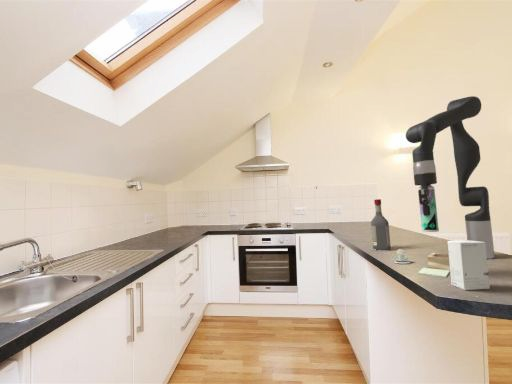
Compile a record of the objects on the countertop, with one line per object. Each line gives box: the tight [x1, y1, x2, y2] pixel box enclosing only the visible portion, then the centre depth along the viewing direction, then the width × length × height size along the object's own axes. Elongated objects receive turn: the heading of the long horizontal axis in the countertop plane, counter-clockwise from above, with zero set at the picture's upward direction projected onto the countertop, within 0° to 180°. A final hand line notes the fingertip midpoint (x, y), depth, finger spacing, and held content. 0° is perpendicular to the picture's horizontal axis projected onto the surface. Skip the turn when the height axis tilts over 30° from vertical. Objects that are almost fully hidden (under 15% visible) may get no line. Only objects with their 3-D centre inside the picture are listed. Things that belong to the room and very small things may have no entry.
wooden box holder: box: [426, 252, 450, 271], centre depth 106 cm, size 10×10×5 cm
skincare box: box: [446, 240, 491, 291], centre depth 83 cm, size 8×6×15 cm
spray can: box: [417, 184, 440, 233], centre depth 101 cm, size 6×6×20 cm
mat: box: [417, 267, 450, 278], centre depth 100 cm, size 9×9×1 cm
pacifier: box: [392, 248, 411, 265], centre depth 118 cm, size 7×6×6 cm
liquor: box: [370, 198, 392, 251], centre depth 153 cm, size 9×9×30 cm
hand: (428, 214), depth 101 cm, fingers closed on spray can, 5 cm apart
